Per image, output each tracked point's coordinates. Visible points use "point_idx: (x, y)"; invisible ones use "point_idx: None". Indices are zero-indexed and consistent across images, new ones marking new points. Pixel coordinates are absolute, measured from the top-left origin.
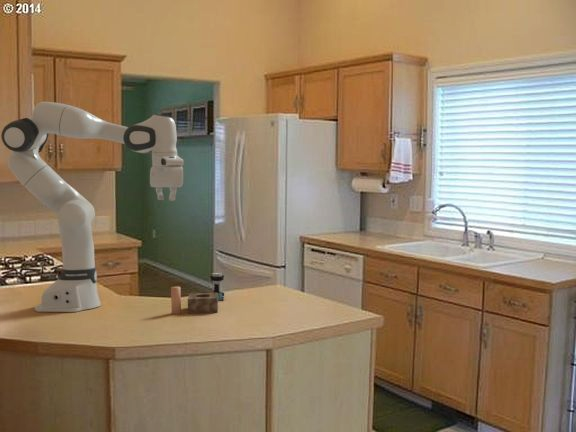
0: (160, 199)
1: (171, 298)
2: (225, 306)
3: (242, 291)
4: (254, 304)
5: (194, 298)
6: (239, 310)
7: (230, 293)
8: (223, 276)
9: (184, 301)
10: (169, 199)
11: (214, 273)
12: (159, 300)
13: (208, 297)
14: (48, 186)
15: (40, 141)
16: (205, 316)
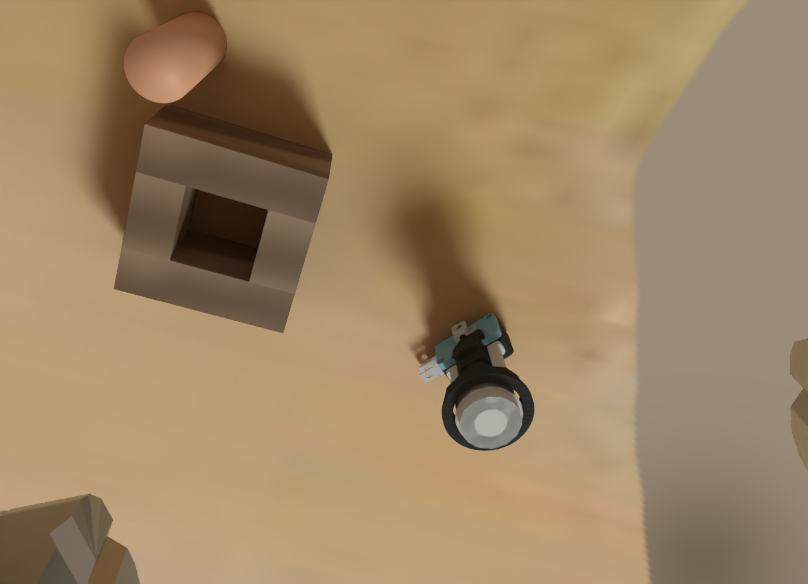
0: (797, 366)
1: (171, 22)
2: None
3: (605, 491)
4: (264, 456)
5: (148, 168)
6: (152, 363)
7: (590, 431)
8: (456, 441)
9: (513, 163)
10: (38, 507)
11: (496, 409)
12: (629, 24)
13: (151, 250)
14: None
15: None
16: (62, 176)
